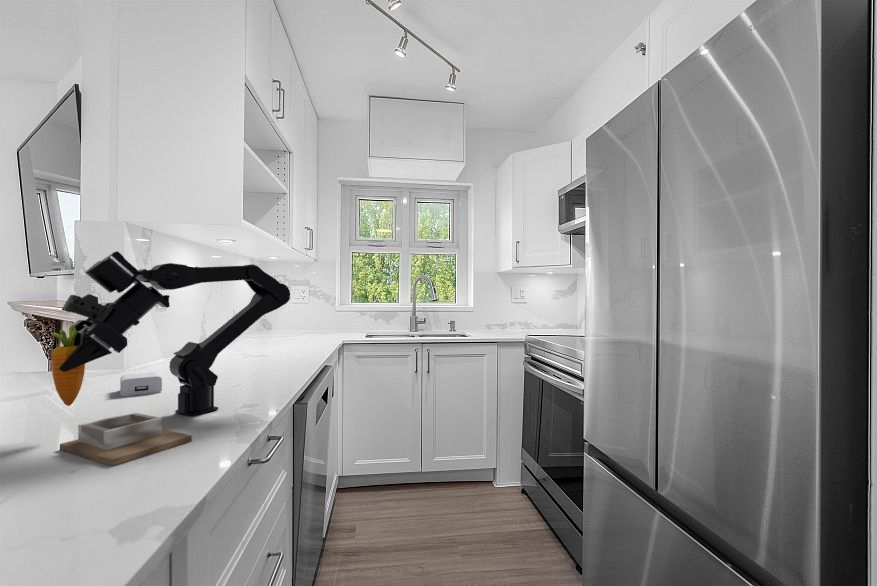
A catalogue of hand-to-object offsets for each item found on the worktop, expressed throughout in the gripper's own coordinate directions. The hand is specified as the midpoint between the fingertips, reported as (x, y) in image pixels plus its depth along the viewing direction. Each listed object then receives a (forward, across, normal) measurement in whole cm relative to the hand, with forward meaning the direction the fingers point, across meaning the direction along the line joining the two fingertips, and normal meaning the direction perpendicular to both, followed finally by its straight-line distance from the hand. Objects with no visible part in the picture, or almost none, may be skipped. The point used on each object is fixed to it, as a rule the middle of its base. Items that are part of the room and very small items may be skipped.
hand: (58, 368), depth 81 cm
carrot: (+4, 0, +6) cm, 7 cm away
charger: (-6, -37, +25) cm, 45 cm away
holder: (+4, +15, +14) cm, 21 cm away
